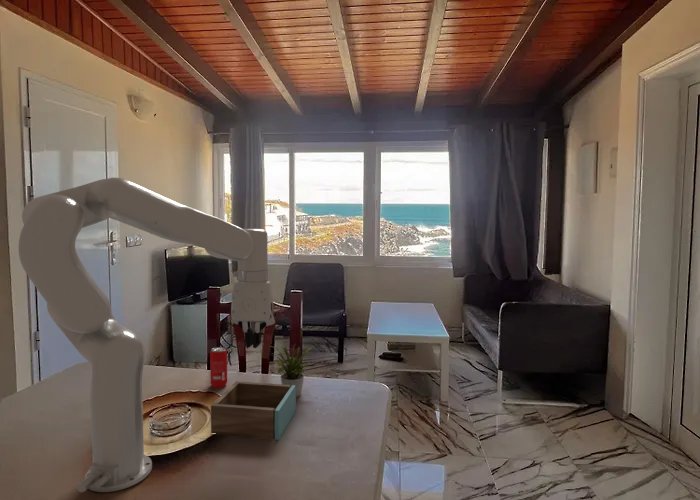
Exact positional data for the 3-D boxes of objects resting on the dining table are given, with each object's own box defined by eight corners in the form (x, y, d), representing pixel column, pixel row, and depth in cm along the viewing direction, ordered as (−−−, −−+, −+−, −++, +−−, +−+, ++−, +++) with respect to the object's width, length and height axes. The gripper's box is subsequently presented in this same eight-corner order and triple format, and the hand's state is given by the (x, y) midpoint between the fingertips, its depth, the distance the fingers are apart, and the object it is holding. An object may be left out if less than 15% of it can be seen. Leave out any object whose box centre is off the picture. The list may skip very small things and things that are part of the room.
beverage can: (207, 387, 139) (206, 350, 138) (216, 381, 144) (216, 346, 143) (221, 389, 137) (221, 352, 136) (230, 383, 142) (230, 347, 141)
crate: (273, 441, 106) (273, 410, 106) (211, 436, 108) (210, 405, 108) (290, 412, 122) (290, 385, 121) (236, 408, 124) (236, 381, 123)
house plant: (256, 402, 128) (256, 348, 127) (275, 384, 142) (275, 335, 140) (301, 408, 125) (302, 352, 124) (316, 389, 138) (317, 339, 137)
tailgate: (278, 440, 106) (278, 410, 105) (274, 439, 106) (274, 410, 105) (295, 410, 122) (295, 385, 121) (292, 410, 122) (292, 385, 121)
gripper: (218, 277, 109) (218, 349, 111) (277, 279, 107) (277, 352, 109) (230, 273, 117) (230, 340, 118) (285, 275, 115) (285, 343, 116)
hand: (253, 346), depth 113 cm, fingers closed
